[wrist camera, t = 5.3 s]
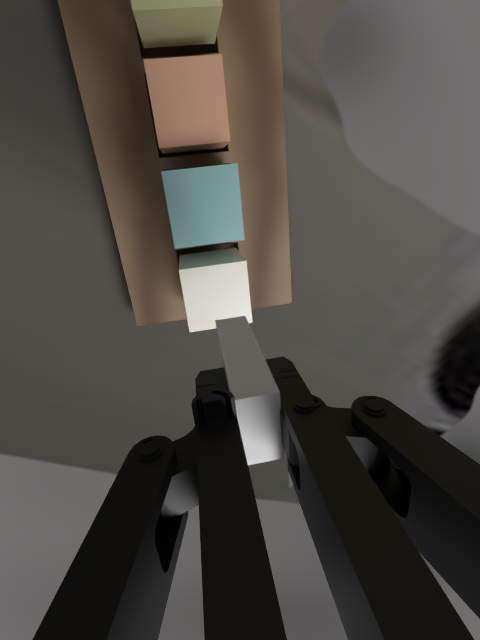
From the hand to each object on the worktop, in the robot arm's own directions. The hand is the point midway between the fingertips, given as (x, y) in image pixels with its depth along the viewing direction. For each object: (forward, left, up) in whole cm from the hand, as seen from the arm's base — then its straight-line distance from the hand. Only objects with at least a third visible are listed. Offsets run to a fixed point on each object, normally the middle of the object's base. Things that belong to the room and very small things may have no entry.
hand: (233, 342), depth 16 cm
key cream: (0, 0, -12) cm, 12 cm away
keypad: (0, +9, -15) cm, 18 cm away
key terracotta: (0, +12, -14) cm, 19 cm away
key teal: (0, +6, -12) cm, 14 cm away
